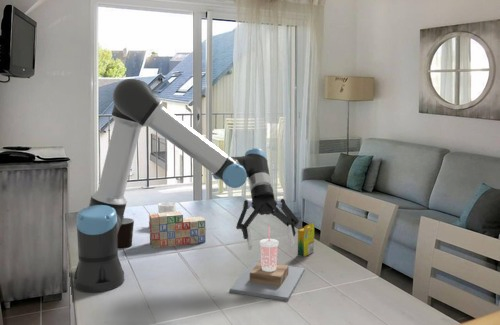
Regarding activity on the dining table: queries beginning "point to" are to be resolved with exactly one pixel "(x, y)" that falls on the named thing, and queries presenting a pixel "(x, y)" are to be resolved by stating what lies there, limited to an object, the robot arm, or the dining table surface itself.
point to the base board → (267, 290)
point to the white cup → (166, 207)
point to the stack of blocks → (175, 229)
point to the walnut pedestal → (269, 275)
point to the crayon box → (306, 240)
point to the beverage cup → (269, 253)
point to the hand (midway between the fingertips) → (271, 246)
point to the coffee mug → (125, 233)
